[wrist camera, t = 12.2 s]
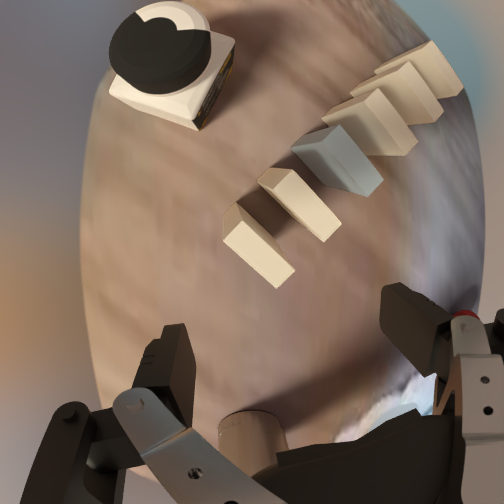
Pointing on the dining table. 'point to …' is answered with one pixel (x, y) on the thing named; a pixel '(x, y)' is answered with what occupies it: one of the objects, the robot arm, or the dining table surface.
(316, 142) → the domino
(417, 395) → the dining table surface
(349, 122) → the domino
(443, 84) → the domino
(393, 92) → the domino
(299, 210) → the domino
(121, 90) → the medicine bottle
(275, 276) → the domino
